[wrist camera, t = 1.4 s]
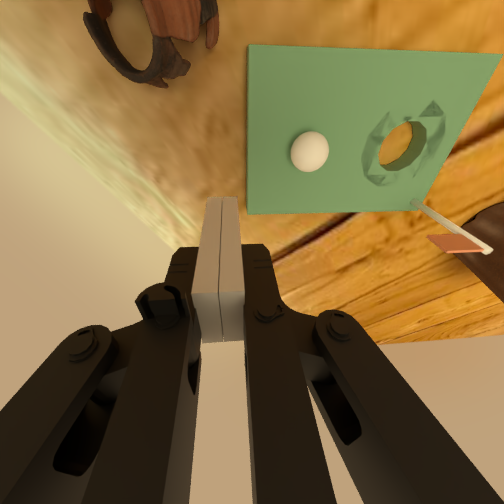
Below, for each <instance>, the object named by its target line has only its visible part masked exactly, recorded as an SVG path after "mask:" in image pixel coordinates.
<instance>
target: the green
mask: <svg viewBox="0 0 504 504" xmlns="http://www.w3.org/2000/svg"><path fill="white" fill-rule="evenodd" d="M502 56H503V54H488V53H462V52H436V51H410V50H384V49H357V48H331V47H305V46H279V45H253V44H249V45H248V47H247V156H246V208H247V215H253V214H294V213H335V212H376V211H417V210H418V208H417V207H415V206H414V205H412V204H411V203H410V201H411V200H412V199H417V200H418V201H420V202H421V203H422V202H423V200H424V198H425V197H426V195H427V193H428V191H429V189H430V188H431V186H432V184H433V182H434V180H435V178H436V177H437V175H438V173H439V171H440V169H441V167H442V166H443V164H444V162H445V160H446V158H447V156H448V155H449V153H450V151H451V149H452V147H453V146H454V144H455V142H456V140H457V138H458V136H459V135H460V133H461V131H462V129H463V127H464V125H465V124H466V122H467V120H468V118H469V116H470V114H471V113H472V111H473V109H474V107H475V105H476V104H477V102H478V100H479V98H480V96H481V94H482V93H483V91H484V89H485V87H486V85H487V83H488V82H489V80H490V78H491V76H492V74H493V73H494V71H495V69H496V67H497V65H498V63H499V62H500V60H501V58H502ZM406 121H409V122H410V123H411V124H412V130H413V137H412V140H411V142H410V144H409V147H408V149H407V150H406V151H405V152H404V153H403V154H402V156H401V157H400V158H399V159H397V160H396V161H394V162H392V163H390V164H388V165H380V164H379V157H378V153H379V150H380V147H381V145H382V142H383V140H384V139H385V138H386V137H387V136H388V134H389V133H390V132H391V131H392V130H393V129H394V128H395V127H397V126H399V125H401V124H403V123H405V122H406ZM309 131H315V132H318V133H320V134H322V135H323V136H324V137H325V138H326V140H327V142H328V146H329V154H328V157H327V160H326V161H325V163H324V164H323V165H322V166H321V167H320V168H319V169H317V170H315V171H312V172H303V171H301V170H299V169H297V168H296V167H295V166H294V164H293V162H292V160H291V148H292V145H293V143H294V141H295V140H296V139H297V137H299V136H300V135H301V134H303V133H305V132H309Z"/></svg>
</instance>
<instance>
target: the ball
mask: <svg viewBox="0 0 504 504" xmlns="http://www.w3.org/2000/svg"><path fill="white" fill-rule="evenodd" d="M328 154H329V146H328V142H327V140H326V138H325V137H324V136H323V135H322V134H320V133H318V132H315V131H309V132H305V133H303V134H301V135H300V136H299V137H297V139H296V140H295V141H294V143H293V145H292V148H291V160H292V162H293V164H294V166H295V167H296V168H297V169H299V170H301V171H303V172H312V171H315V170H317V169H319V168H320V167H321V166H322V165H323V164H324V163H325V161H326V160H327V157H328Z"/></svg>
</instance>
